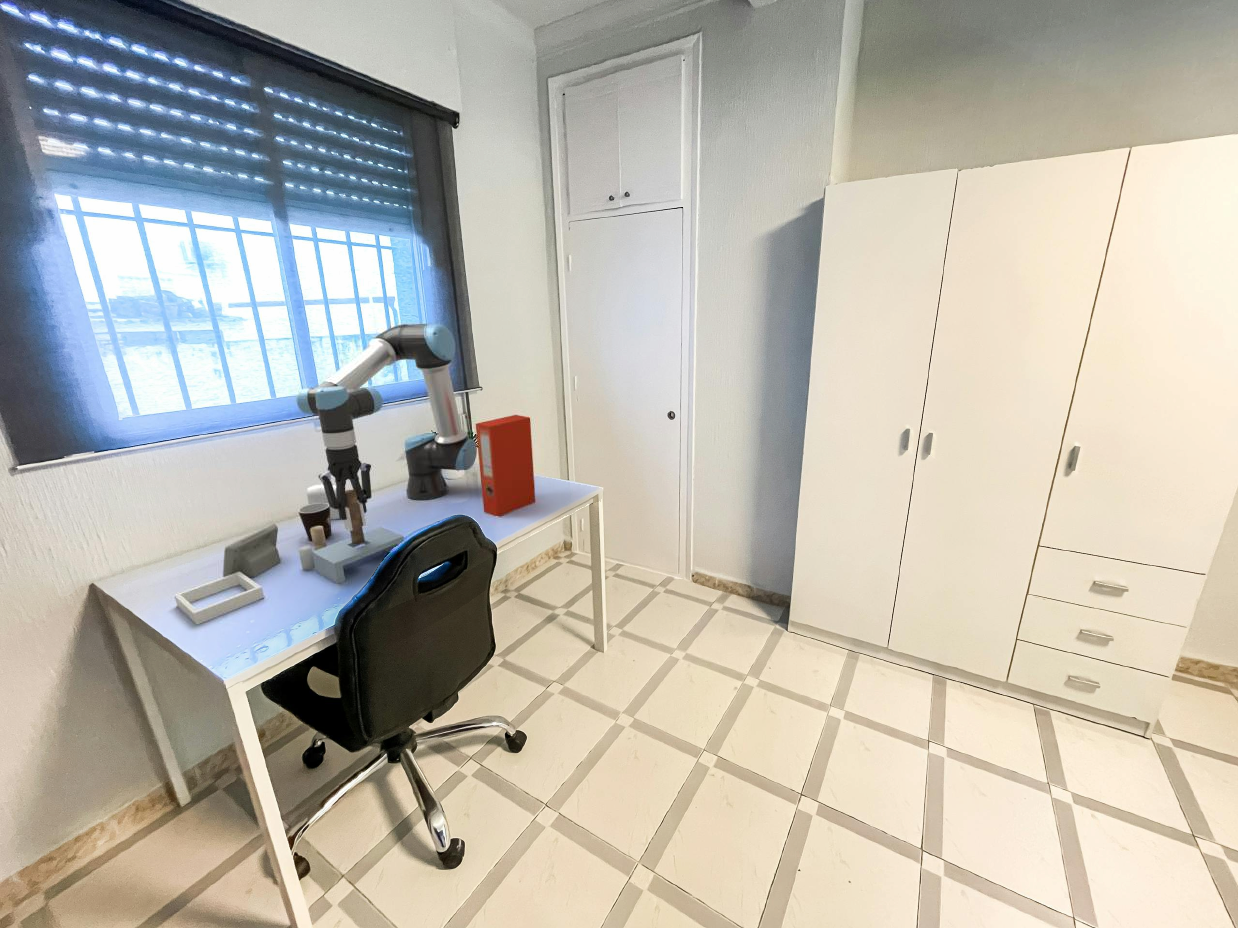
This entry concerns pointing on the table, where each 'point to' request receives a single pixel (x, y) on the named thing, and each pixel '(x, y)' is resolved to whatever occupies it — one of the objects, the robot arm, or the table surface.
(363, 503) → the robot arm
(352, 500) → the long dowel
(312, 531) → the medium dowel
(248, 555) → the digital clock
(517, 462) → the file binder
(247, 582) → the frame
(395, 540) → the bridge
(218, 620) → the table surface
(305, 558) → the short dowel
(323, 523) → the coffee mug
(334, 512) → the photo printer
